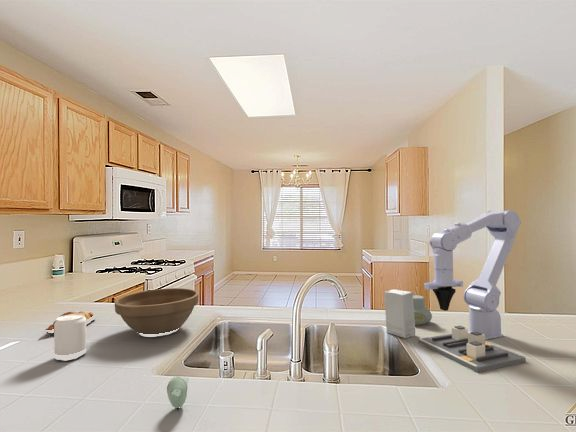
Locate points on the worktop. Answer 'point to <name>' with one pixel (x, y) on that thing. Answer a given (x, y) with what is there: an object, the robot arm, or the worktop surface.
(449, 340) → the console
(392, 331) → the skincare box
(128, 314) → the brown round bowl
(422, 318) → the air freshener
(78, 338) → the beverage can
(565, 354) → the worktop surface
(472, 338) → the switch middle
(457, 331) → the switch
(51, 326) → the croissant
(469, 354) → the switch
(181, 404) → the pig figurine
